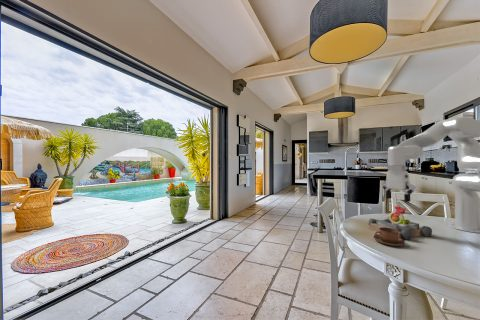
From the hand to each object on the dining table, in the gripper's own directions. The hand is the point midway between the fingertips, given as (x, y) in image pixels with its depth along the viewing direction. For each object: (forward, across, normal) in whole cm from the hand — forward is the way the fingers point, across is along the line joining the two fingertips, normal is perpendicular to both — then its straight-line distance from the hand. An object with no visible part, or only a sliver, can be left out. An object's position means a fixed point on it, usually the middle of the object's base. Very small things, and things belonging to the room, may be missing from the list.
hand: (397, 199), depth 110 cm
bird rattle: (+14, -1, +1) cm, 14 cm away
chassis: (+17, 0, 0) cm, 17 cm away
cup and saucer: (+17, -10, +20) cm, 28 cm away
